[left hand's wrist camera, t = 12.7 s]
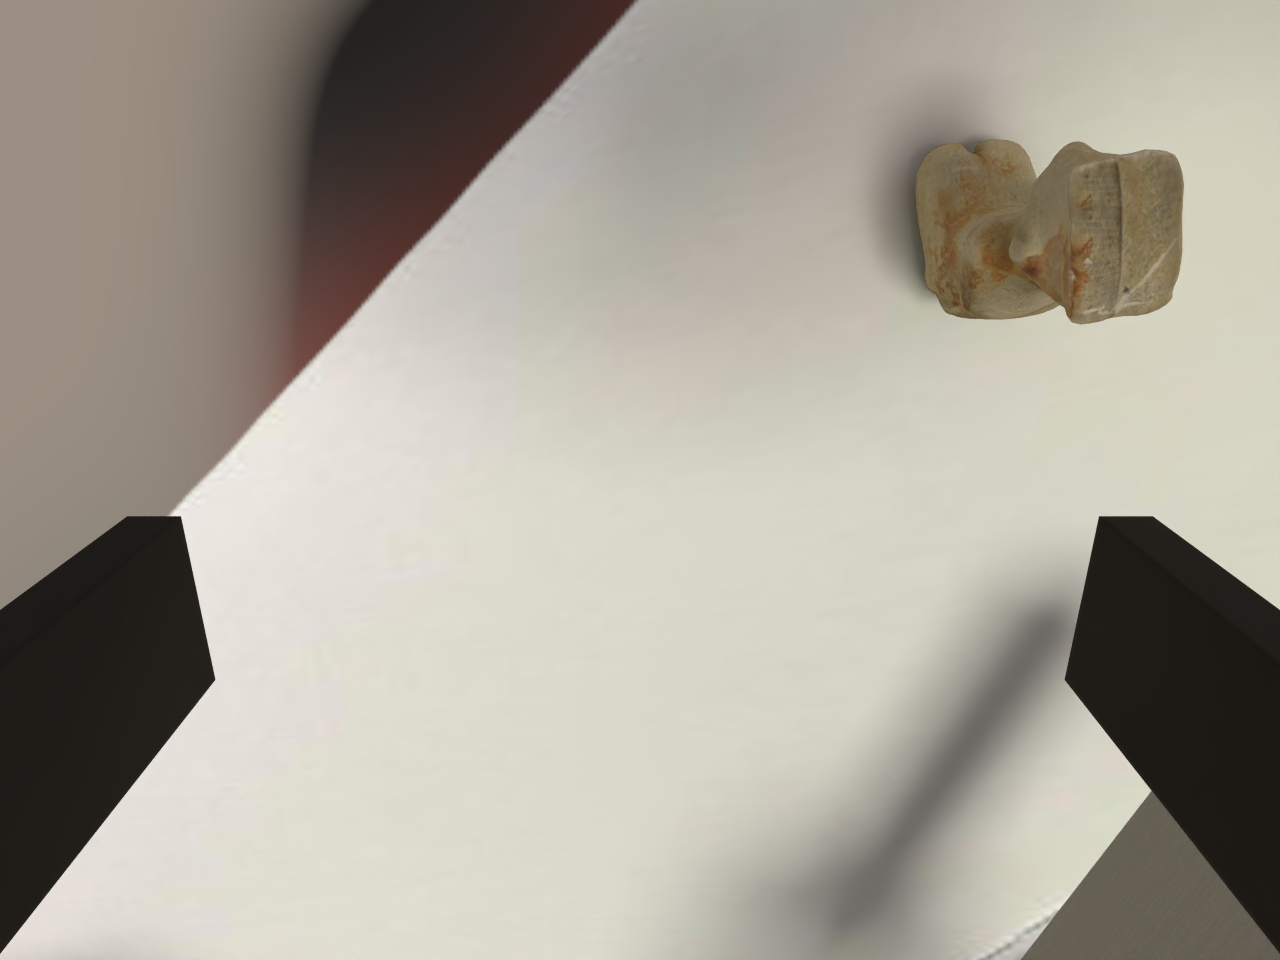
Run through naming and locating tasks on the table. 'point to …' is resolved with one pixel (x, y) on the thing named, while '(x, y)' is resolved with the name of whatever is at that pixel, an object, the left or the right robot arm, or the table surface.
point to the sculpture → (1050, 231)
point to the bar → (1152, 903)
